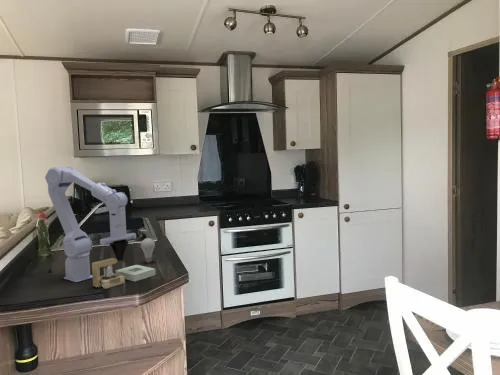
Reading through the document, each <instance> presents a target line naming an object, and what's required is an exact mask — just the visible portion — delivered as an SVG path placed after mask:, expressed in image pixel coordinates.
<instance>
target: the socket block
mask: <svg viewBox="0 0 500 375" xmlns="http://www.w3.org/2000/svg"><path fill="white" fill-rule="evenodd" d="M125 280H126V279H124V276H121V275H117V274H116V273H113V278H111V279H108V280H106V279H104V274H103V275H100V285H101V286H102V287H103V288H102V289H109V288H112V287H116V286H118V285H122V284H125V283H126V282H125Z"/></svg>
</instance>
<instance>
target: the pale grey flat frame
mask: <svg viewBox="0 0 500 375" xmlns="http://www.w3.org/2000/svg"><path fill="white" fill-rule="evenodd" d="M156 270H157V269H156V268H153V267H149V266H145V265H140V264H134V265H131V266H126V267H122V268H119V269H116V270H115V271H114V272H115V274H117V275H121V276H124V279H125V280H126V281H131V282H138V281H141V280H144V279H149V278H150V277H154V276H156V275H157V273H156V272H157V271H156Z"/></svg>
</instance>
